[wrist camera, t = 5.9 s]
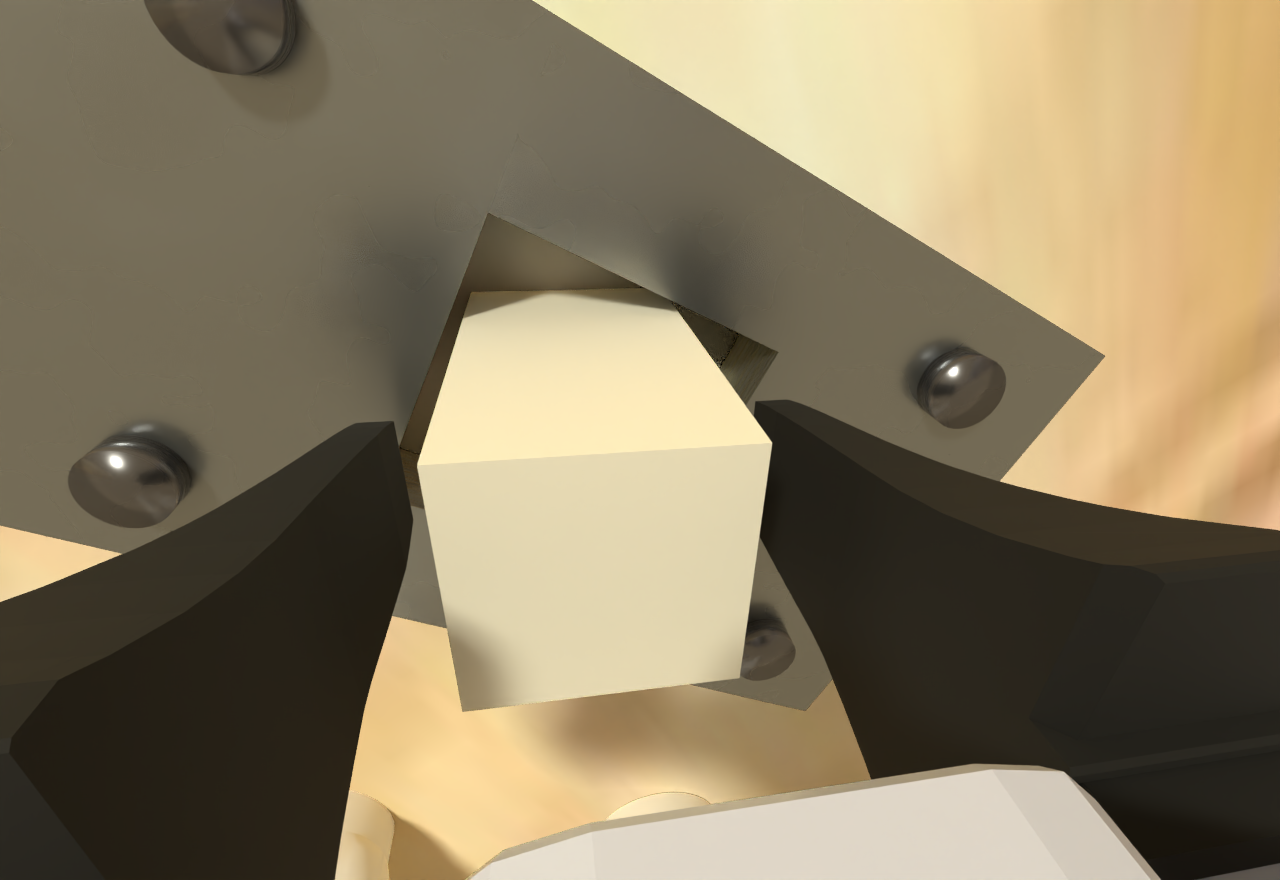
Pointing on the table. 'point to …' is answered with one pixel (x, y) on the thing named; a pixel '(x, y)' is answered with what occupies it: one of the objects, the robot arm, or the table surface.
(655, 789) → the table surface
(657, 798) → the binoculars
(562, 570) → the cream rectangular block
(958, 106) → the table surface
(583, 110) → the strike plate
